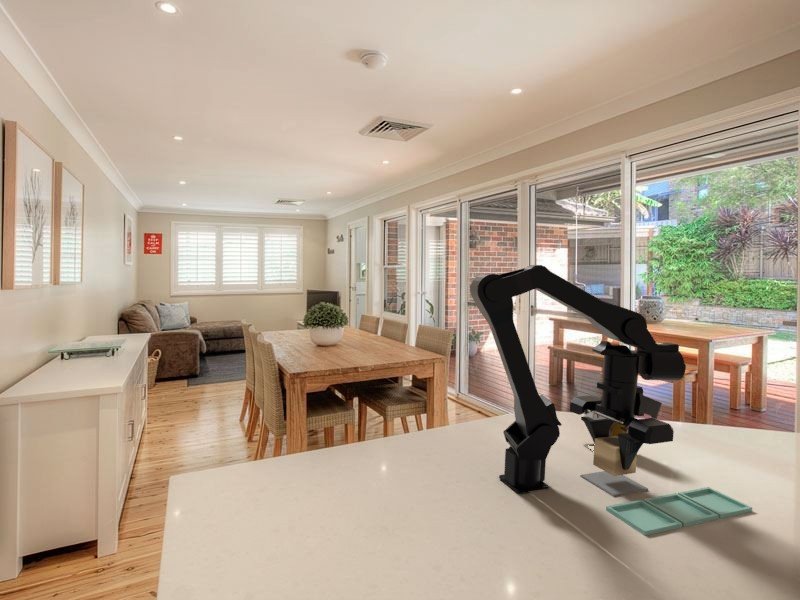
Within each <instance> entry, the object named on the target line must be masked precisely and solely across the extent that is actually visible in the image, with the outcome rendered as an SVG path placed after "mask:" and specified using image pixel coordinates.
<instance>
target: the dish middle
mask: <svg viewBox="0 0 800 600" xmlns="http://www.w3.org/2000/svg"><path fill="white" fill-rule="evenodd" d="M642 501H644V502H646V503H648V504H649V505H651V506H653V507H655V508H656V509H658V510H660V511H662V512H663V513H665V514H667V515H669V516H670V517H672V518H674V519H676V520H677V521H679V522H681V523H682V527H684V528H685V527H689V526H694V525H698V524H703V523H707V522H712V521H717V520H718V519H719V518H718V516H719V515H717V514H715V513H714V512H712V511H710V510H708V509H706V508H704V507H702V506H700V505H698V504H696V503H694V502H692V501H690V500H688V499H686V498H684V497H682V496H681V495H679V494H678V493H676V492H675V493H670V494H665V495H659V496H655V497H654V496H653V497H648V498H644V499H642Z"/></svg>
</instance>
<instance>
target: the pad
mask: <svg viewBox="0 0 800 600" xmlns="http://www.w3.org/2000/svg"><path fill="white" fill-rule="evenodd" d="M579 477H580V478H582V479H583V480H585V481H587V482H588V483H590V484H592V485H593V486H595V487H596V488H599V490H602V491H603V492H604V493H606V494H608V495H610V496H611V497H613V498H614V497H618V496H625V495H630V494H635V493H641V492H645V491H649V488H648V487H646V486H644V485H643V484H640V483H639V482H637V481H636V480H633V479H632V478H630V477H628V476H626V475H625V474H624V475H618V476H613V475H611V474H609V473H608V472H606V471H604V470H602V471H597V472H589V473H583V474H580V475H579Z"/></svg>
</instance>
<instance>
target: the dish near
mask: <svg viewBox="0 0 800 600" xmlns="http://www.w3.org/2000/svg"><path fill="white" fill-rule="evenodd" d="M605 511H607V512H608V513H610V514H611V515H613V516H614V517H615V518H617V519H618V520H620V521H621V522H624V524H626V525H628V526H630V527H631V528H633V529H634V530H635V531H637V532H638V533H640V534H641V535H643V536H649V535H654V534H658V533H662V532H666V531H671V530H675V529H680V528H682V527H683V526H682V523H681V522H679V521H677V520H676V519H674V518H672V517H670V516H669V515H667V514H665V513H663V512H662V511H660V510H658V509H656V508H655V507H653V506H651V505H649V504H648V503H646V502H644V501H643V499H638V500H633V501H628V502H622V503H617V504H612V505H606V507H605Z"/></svg>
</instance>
